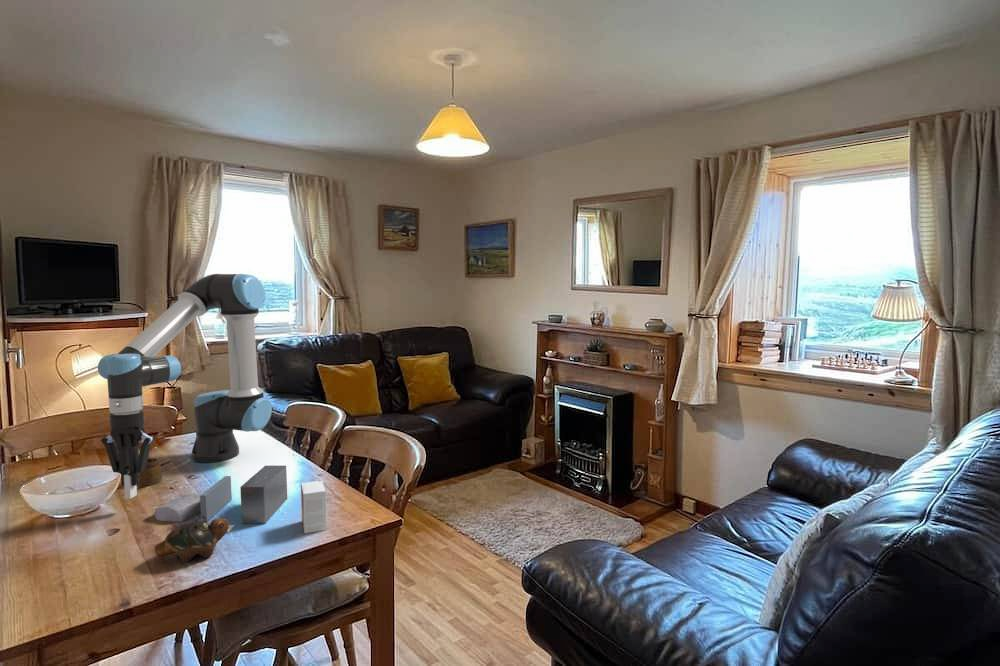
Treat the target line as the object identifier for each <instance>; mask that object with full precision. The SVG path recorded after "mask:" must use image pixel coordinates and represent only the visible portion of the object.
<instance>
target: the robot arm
mask: <svg viewBox="0 0 1000 666" xmlns="http://www.w3.org/2000/svg"><path fill="white" fill-rule="evenodd" d="M265 301H266V290H265V287H264V284H263V283H262V281H261V280H259V278H258V277H256V276H255V275H252V274H246V273H245V274H244V273H233V274H232V273H229V274H228V273H213V274H209V275H205V276H203V277H202V278H199V279H198V280H196V281H195V282H193V283H192V284H190V285H189V286H187V287H186V288H185V289H184V290H182V292H180V293H179V294H178V296H177V300H176V301H175V302H174V303H173V304H172V305H171V306H169V307H168V309H166V310H165V311H164V312H163V313H162V314H161V315H159V316H158V317H157V318H156V319H155V320H154V321H153V322H151V324H149V325H148V326H147V327H146V328H144V330H143V331H141V332H140V333H138V335H137V336H136V337H134V338H133V340H131V341H130V342H129V343H128V344H127V345H125V346H124V347H123V348H122V349H121V350H120V351H119V352H118V353H112V354H106V355H104V356H102V358H100V360H99V361H98V364H97V372H98V373H99V376H100V377H102V378H103V379H106V380H107V392H108V393H107V394H108V409H109V412H110V415H109V427H110V428H111V429H110V432H109V434H108V435H107V436H105V437H102V438H101V439H100V441H101V443H102V444H103V445H104V447H105V450H106V453H107V456H108V459H109V464H110V467H111V468H112V469H111V470H112V472H113V473H117V474H119V475H120V480H121V483H120V484H121V485H122V487H123V488H124V499H127V500H128V499H130V500H131V499H133V498H134V497H135V496H138V487H137V486H138V484H140V481H139V472H141V471H143V470H145V469H146V466H147V461H148V459H149V455H150V451H151V445H152V444H153V441H154V440H155V436H154V435H151V436H150V435H148V434H147V433H146V430H145V429H144V421H145V420H144V419H145V417H144V411H143V409H144V402H143V401H144V399H143V387H147V386H153V385H158V384H163V383H165V384H166V383H168V382H172V381H175V380H177V379H178V378H179V376H181V374H182V373H181V372H182V367H181V363H180V360H179V359H178V358H177V357H175V356H174V355H161V356H157V355H158V354H159V353H160V352H161V351H162V350H163V349H164V348H166V346H167V345H168V344H169V343H170V342H171V341H173V340H174V338H176V337H177V336H178V335H179V334H180V333H181V332H182V331H184V330H185V328H186V327H187V326H188V325H189V324H191V323H192V322H193V321H194V320H195V319H196V318H197V317H201V316H204V315H205V314H206V313H207V312H208V311H210V310H213V309H220V315H221V317H223V318H224V319H225V320H226V321H225V323H226V333H227V336H226V337H227V346H228V347H227V349H228V350H227V351H228V363H229V381H230V389H222V390H215V391H210V392H205V393H201V394H199V395H196V397H194V406H193V409H194V420H195V421H194V422H195V440H194V443H193V447H192V450H191V460H192V461H193V462H197V463H216V462H217V463H218V462H222V461H228V460H230V459H234V458H235V457H237V456H239V454H240V446H239V444H238V442H237V439H236V437H235V434H234V431H242V432H258V431H261V430H262V429H264V427H266V426H267V424H268V422H269V421H270V419H271V416H272V413H273V411H272V410H273V409H272V408H273V406H272V402H270V400H269V399H268V398H266V397H265V396H264V390H263V389H262V388H261V387H259V378H258V377H259V376H258V364H257V363H258V361H257V359H258V358H257V343H256V329H255V328H256V326H255V318H256V317H257V316H258V315H259V313H260V312H259V309H260V308H262V307H263V306H264V303H265ZM140 441H141V442H140ZM140 443H141V445H140ZM139 447H140V449H138V448H139ZM139 450H140V453H139Z"/></svg>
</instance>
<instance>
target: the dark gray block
mask: <svg viewBox="0 0 1000 666" xmlns="http://www.w3.org/2000/svg"><path fill="white" fill-rule="evenodd" d="M287 477H288V475H287V465H264V466H263V467H262V468H261V469H259V470H258V471H257V472H256V473H255V474H254V475H253V476H251V477H250V478H249V479H248V480H247V481H245V483H243V484H242V485H241V486H240V509H241V510H240V511H241V524H242V525H265V524H267V522H269V520H270V519H271V518H273V516H274V514H275V513H277V511H279V509H280V508H281V506H283V504H284V503H285V502H286V501H287V500H288V481H287V480H288V479H287Z"/></svg>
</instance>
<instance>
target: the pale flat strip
mask: <svg viewBox="0 0 1000 666" xmlns="http://www.w3.org/2000/svg"><path fill="white" fill-rule="evenodd" d="M234 528H235V524H233V525H232V524H229V528H228V530H227V532H226V533H230V532H231V531H232V530H233V529H234Z"/></svg>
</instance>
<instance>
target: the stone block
mask: <svg viewBox="0 0 1000 666" xmlns="http://www.w3.org/2000/svg"><path fill="white" fill-rule="evenodd" d="M201 494H202V493H200V492H199V493H197V492H191V493H187V494H183V495H179V496H177V497H175V498H173V499H172V500H170V501H168V502H167V503H166V504H163V505H162V506H158V507H156V508H155V509H154V516H155V520H157V521H161V522H174V523H176V522H178V523H182V522H185V521H186V520H188V519H190V518H192V517H193V516H195V515H197V514H198V513H201V508H200V495H201Z"/></svg>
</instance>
